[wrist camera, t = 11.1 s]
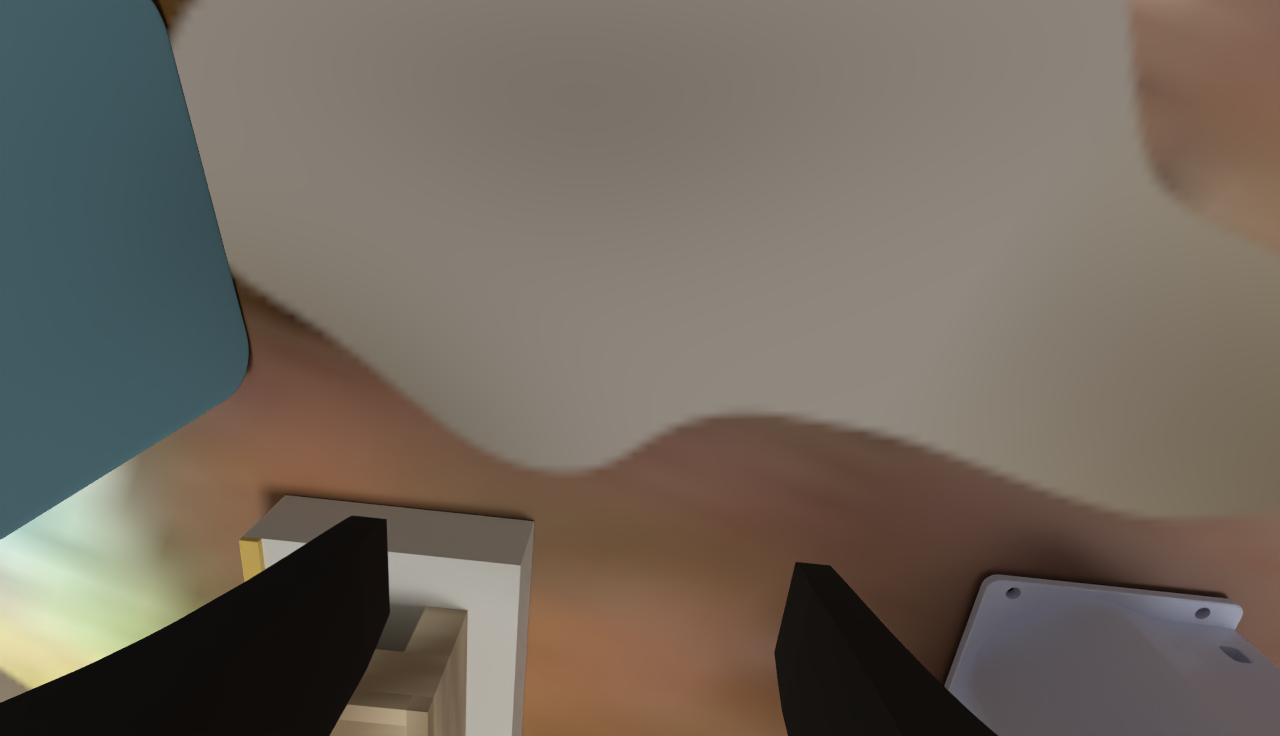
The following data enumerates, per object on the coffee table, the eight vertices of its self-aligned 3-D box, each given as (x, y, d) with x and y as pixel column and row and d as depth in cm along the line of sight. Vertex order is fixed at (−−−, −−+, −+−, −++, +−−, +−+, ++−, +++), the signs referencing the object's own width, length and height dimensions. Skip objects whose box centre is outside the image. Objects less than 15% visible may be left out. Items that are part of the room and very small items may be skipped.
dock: (534, 521, 23) (519, 569, 20) (518, 790, 28) (504, 856, 25) (285, 494, 23) (238, 540, 20) (312, 770, 28) (278, 835, 25)
